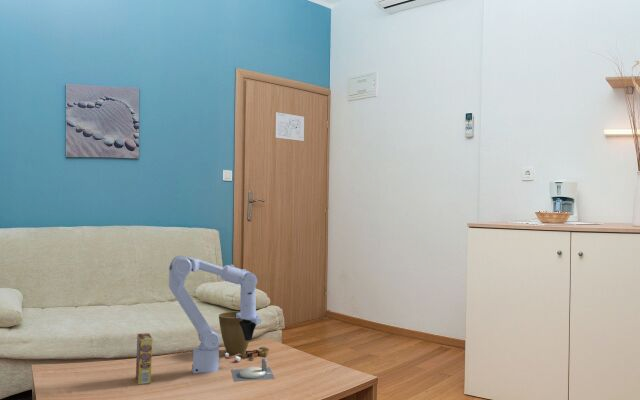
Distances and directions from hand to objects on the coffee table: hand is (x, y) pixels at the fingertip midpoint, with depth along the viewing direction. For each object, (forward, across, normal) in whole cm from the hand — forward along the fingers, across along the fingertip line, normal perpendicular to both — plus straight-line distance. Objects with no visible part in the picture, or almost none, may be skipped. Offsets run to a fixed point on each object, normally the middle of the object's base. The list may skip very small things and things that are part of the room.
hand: (248, 340), depth 189 cm
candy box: (+10, +10, +36) cm, 39 cm away
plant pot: (+11, +21, -7) cm, 24 cm away
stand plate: (+10, -10, +4) cm, 15 cm away
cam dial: (+9, -10, +4) cm, 15 cm away
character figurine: (+11, +10, -6) cm, 16 cm away
